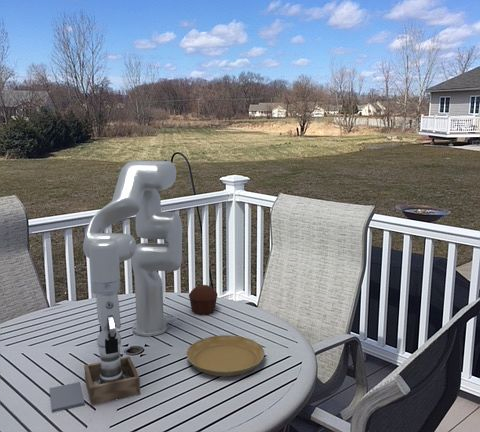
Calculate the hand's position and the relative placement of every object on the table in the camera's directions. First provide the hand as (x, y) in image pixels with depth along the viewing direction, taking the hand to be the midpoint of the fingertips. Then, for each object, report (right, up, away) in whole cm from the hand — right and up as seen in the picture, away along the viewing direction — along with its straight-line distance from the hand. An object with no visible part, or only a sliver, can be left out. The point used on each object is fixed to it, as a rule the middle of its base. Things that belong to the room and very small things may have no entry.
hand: (108, 345), depth 132 cm
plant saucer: (+31, -10, +19) cm, 38 cm away
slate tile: (-11, -14, -2) cm, 18 cm away
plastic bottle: (0, -13, +3) cm, 13 cm away
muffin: (+22, -2, +57) cm, 61 cm away
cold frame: (0, -13, +3) cm, 13 cm away
